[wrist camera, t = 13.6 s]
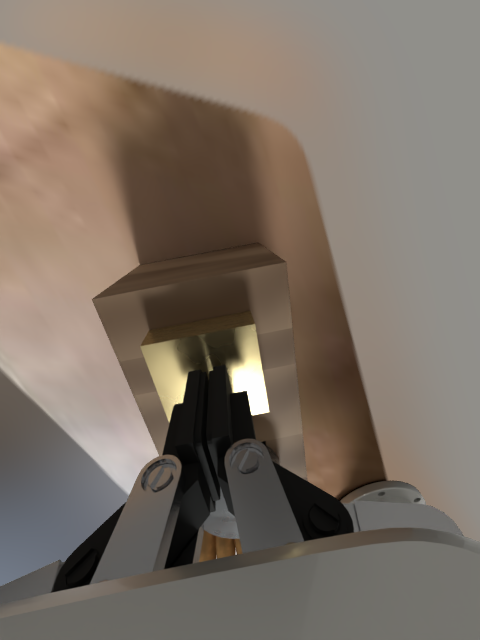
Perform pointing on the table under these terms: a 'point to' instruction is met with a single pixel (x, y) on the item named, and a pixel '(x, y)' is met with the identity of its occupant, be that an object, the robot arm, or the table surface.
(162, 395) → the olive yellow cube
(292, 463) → the block
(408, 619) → the robot arm
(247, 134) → the table surface
